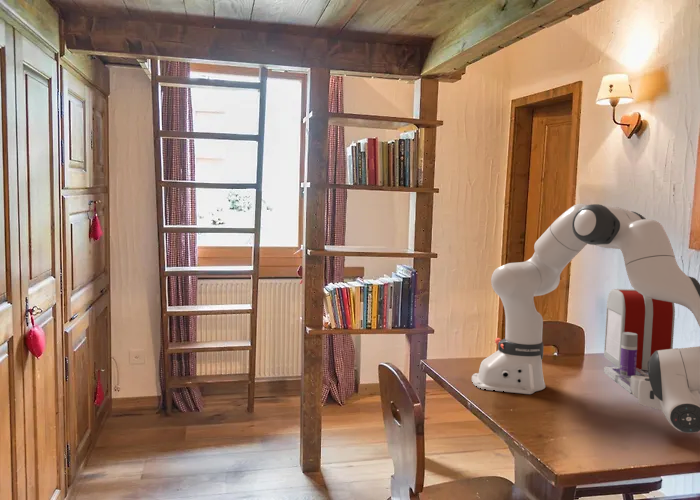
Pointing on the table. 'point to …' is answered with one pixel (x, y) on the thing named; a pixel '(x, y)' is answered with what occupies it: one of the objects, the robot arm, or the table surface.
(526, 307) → the robot arm
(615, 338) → the red striped box
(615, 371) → the rectangular frame with crossbar
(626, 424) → the table surface
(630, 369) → the container
